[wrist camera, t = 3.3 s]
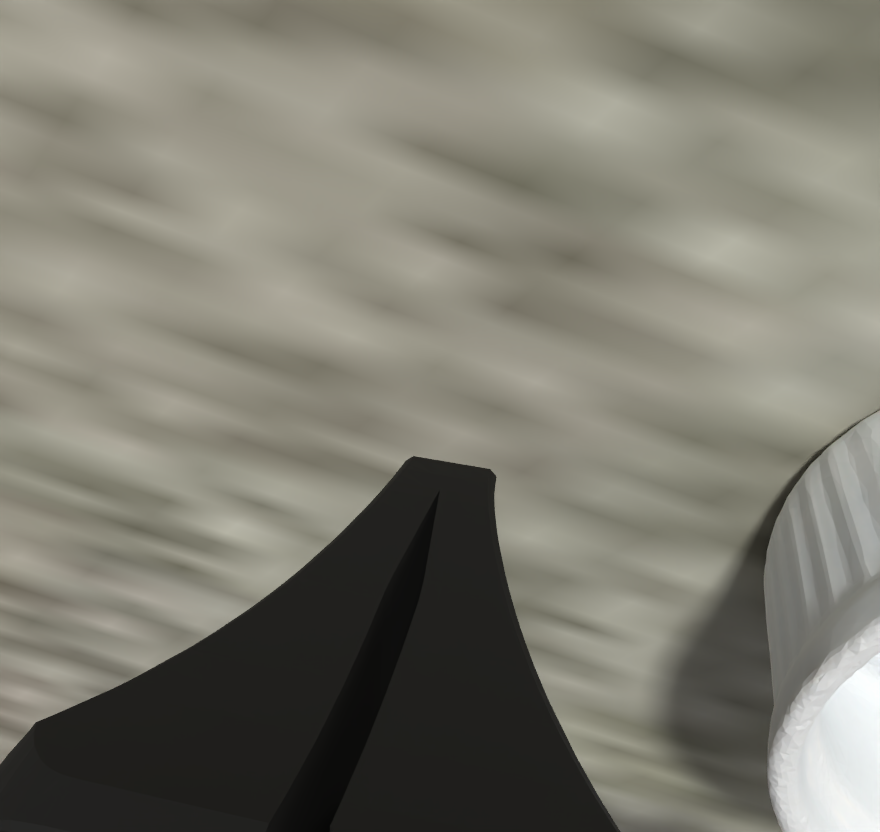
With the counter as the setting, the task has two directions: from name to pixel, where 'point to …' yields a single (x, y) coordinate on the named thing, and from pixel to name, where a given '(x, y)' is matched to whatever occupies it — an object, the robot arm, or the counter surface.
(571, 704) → the counter surface
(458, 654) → the robot arm
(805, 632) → the ramekin
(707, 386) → the counter surface
